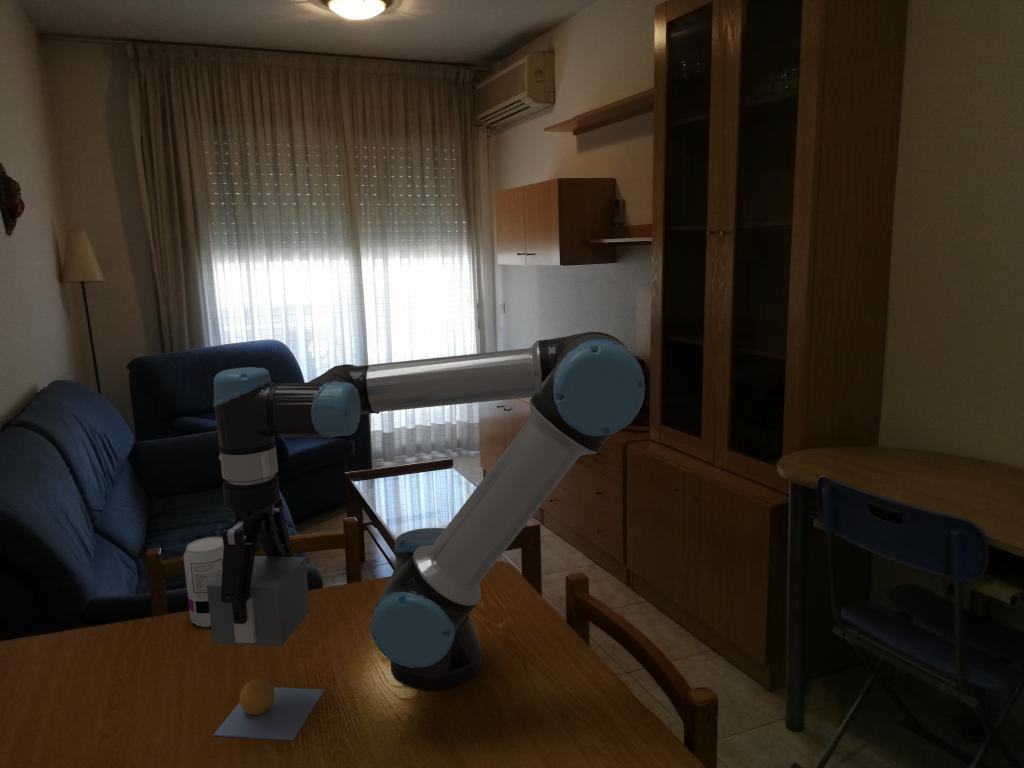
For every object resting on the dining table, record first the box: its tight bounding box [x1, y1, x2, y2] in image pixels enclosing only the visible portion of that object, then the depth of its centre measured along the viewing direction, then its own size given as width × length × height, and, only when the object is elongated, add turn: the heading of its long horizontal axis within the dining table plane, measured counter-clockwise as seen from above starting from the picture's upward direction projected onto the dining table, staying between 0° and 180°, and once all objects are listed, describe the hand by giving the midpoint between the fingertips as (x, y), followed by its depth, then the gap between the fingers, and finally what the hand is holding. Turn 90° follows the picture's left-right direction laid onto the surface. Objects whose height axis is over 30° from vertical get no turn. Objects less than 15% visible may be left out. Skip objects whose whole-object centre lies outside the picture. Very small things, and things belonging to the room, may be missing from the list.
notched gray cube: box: [207, 555, 311, 648], centre depth 107 cm, size 10×10×9 cm
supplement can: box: [183, 536, 224, 628], centre depth 138 cm, size 8×8×15 cm
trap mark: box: [213, 686, 326, 742], centre depth 110 cm, size 12×12×1 cm
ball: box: [239, 678, 275, 715], centre depth 110 cm, size 5×5×5 cm
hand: (263, 621), depth 108 cm, fingers closed on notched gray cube, 10 cm apart
